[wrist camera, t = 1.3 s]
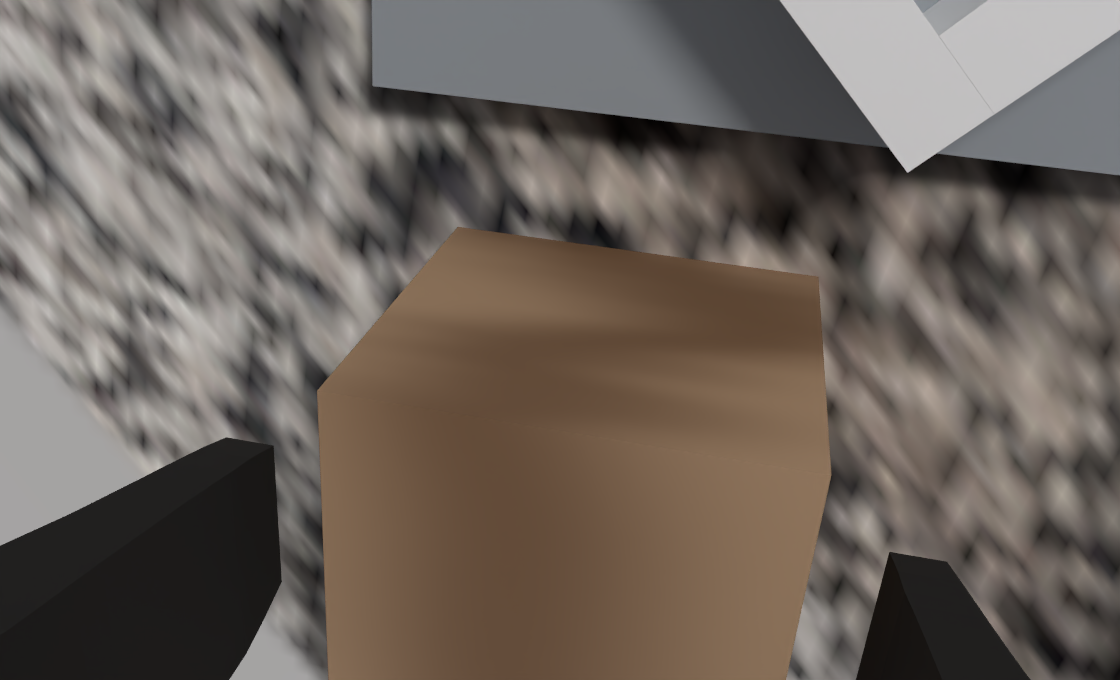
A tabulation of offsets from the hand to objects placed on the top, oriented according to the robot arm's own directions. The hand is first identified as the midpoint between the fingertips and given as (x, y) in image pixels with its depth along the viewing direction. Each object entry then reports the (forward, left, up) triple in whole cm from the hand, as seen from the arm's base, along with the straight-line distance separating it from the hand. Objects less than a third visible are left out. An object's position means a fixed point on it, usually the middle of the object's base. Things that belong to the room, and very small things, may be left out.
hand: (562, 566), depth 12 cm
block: (0, 0, -4) cm, 4 cm away
